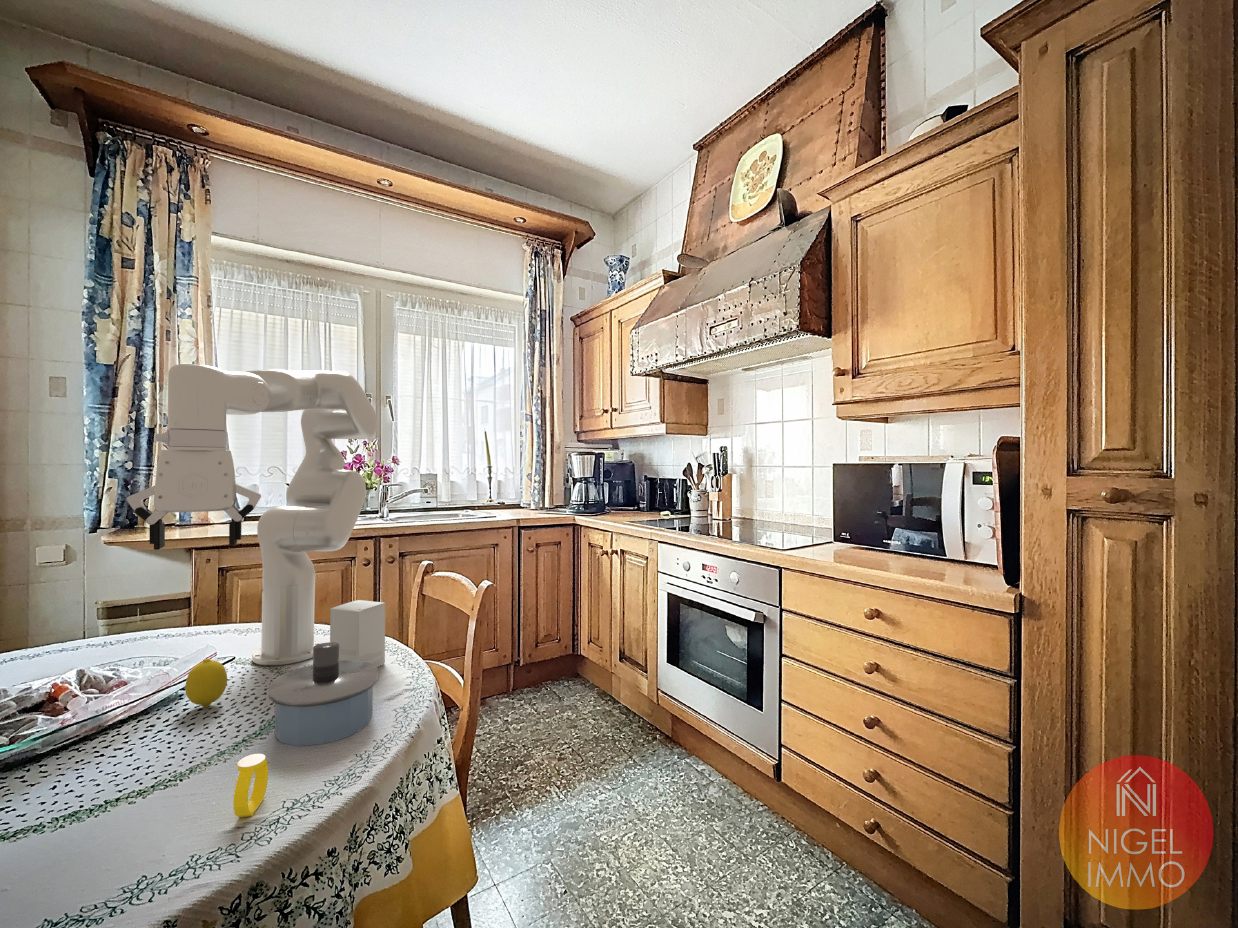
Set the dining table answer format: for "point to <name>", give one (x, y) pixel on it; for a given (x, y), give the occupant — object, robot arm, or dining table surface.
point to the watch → (243, 784)
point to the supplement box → (359, 631)
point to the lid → (323, 680)
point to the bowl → (323, 720)
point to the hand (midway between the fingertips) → (197, 546)
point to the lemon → (206, 682)
